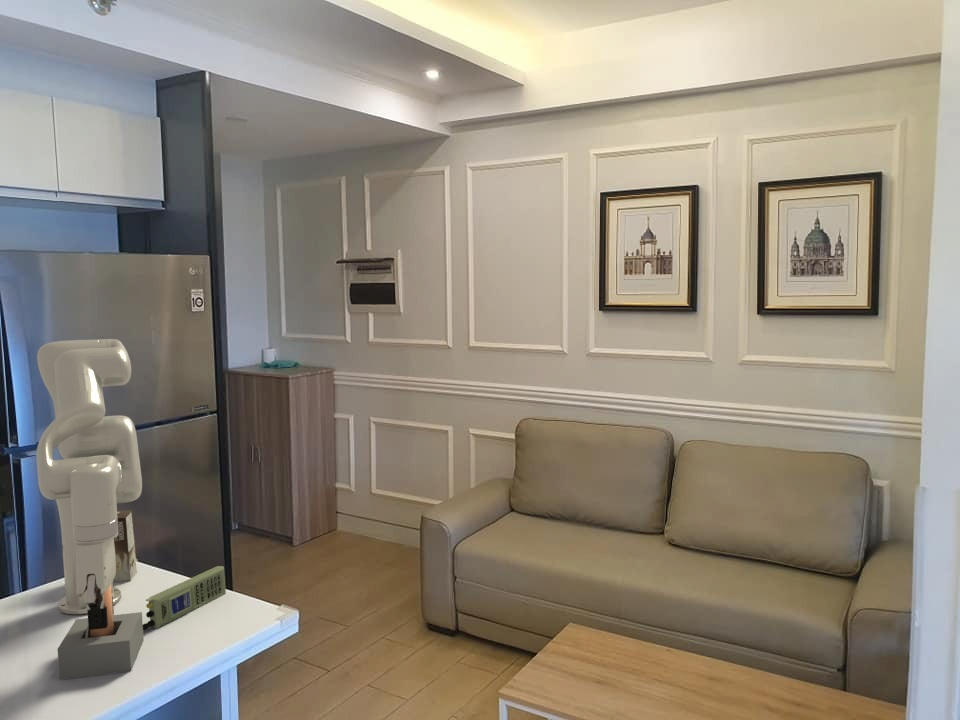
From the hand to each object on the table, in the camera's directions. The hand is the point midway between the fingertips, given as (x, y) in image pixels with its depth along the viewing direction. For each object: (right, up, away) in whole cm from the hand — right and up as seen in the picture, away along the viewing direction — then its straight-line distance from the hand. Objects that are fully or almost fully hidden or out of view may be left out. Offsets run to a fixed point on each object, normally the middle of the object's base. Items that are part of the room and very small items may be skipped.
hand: (101, 621), depth 138 cm
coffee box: (-18, -4, +40) cm, 43 cm away
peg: (0, -3, 0) cm, 3 cm away
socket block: (0, -8, +1) cm, 8 cm away
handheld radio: (+7, -6, +20) cm, 22 cm away
